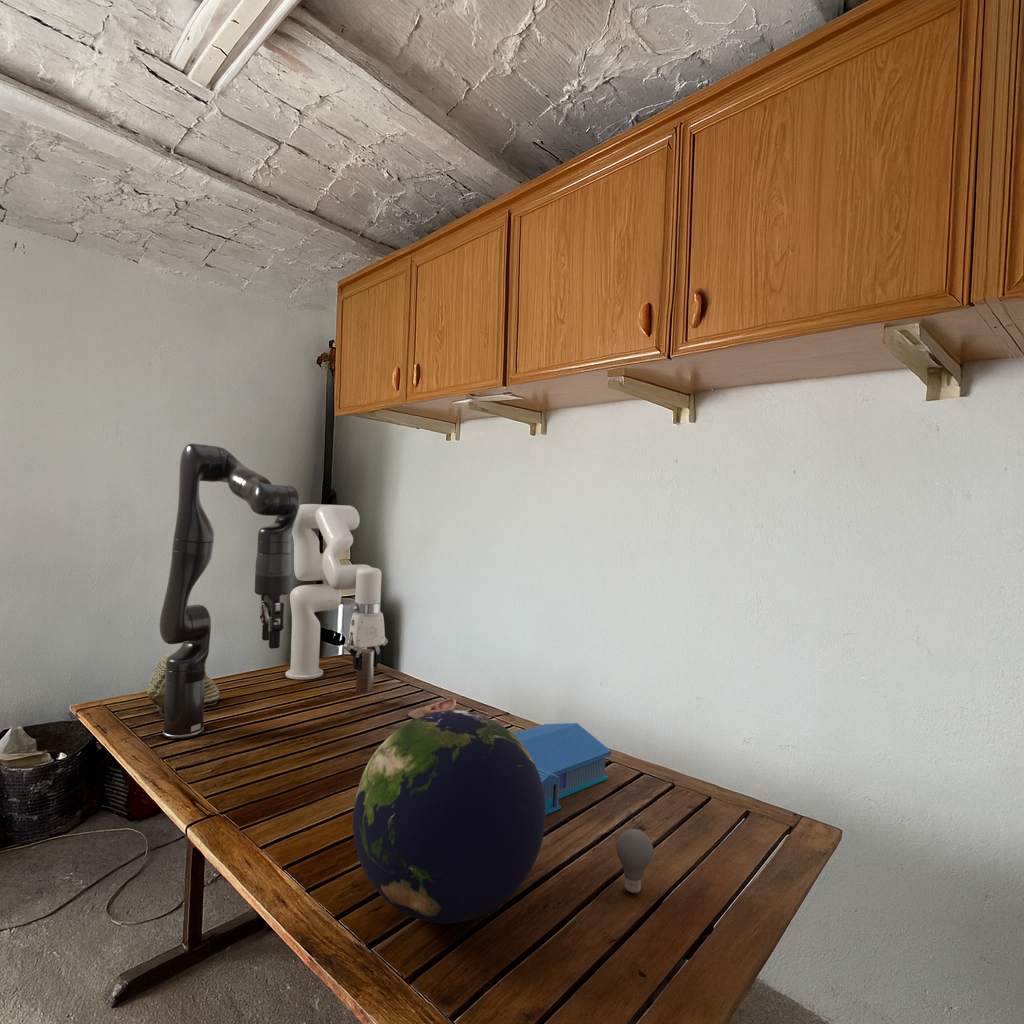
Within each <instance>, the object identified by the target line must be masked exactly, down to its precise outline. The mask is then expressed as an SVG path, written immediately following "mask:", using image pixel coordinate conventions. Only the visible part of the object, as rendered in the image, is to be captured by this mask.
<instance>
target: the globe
mask: <svg viewBox="0 0 1024 1024" xmlns="http://www.w3.org/2000/svg"><path fill="white" fill-rule="evenodd" d="M546 816H547V815H546V806H545V796H544V791H543V786H542V782H541V779H540V775H539V773H538V770H537V768H536V765H535V763H534V761H533V759H532V757H531V756H530V754H529V752H528V751H527V749H526V748H525V747H524V746H523V744H522V743H521V742H520V741H519V740H518V739H517V738H516V737H515V736H514V735H513V732H511V730H509V729H507V728H506V727H505V726H503V725H502V724H500V723H498V722H497V721H495V720H493V719H492V718H489V717H487V716H485V715H481V714H479V713H476V712H471V711H467V710H458V709H457V710H454V711H441V712H435V713H431V714H428V715H424V716H421V717H419V718H417V719H415V718H413V720H410V721H409V722H407V723H405V724H404V725H402V726H400V727H399V728H398V729H397V730H395V731H394V732H392V734H390V735H389V736H388V737H386V739H385V740H384V741H383V742H382V743H381V744H380V745H379V746H378V747H377V749H376V750H375V752H374V753H373V755H372V756H371V757H370V759H369V761H368V762H367V764H366V766H365V768H364V771H363V772H362V775H361V777H360V780H359V783H358V786H357V789H356V793H355V797H354V803H353V808H352V831H353V841H354V845H355V846H354V847H355V851H356V855H357V856H358V860H359V863H360V866H361V868H362V870H363V872H364V874H365V876H366V877H367V878H368V881H369V882H370V884H371V885H372V887H373V888H374V889H375V890H376V891H377V893H378V895H380V896H381V897H382V898H383V899H384V900H385V901H386V902H387V903H388V904H389V905H391V906H392V907H394V908H395V909H396V910H398V911H399V912H401V913H403V914H404V915H407V916H409V917H411V918H414V919H416V920H419V921H423V922H427V923H432V924H441V925H443V924H447V925H448V924H458V923H463V922H468V921H471V920H474V919H478V918H480V917H482V916H484V915H487V914H489V913H490V912H492V911H494V910H495V909H497V908H498V907H500V906H501V905H503V904H504V903H505V902H506V901H507V900H508V899H509V898H511V897H512V896H513V895H514V894H515V892H516V891H517V890H519V888H520V887H521V886H522V884H523V883H524V882H525V880H526V879H527V877H528V876H529V874H530V872H531V870H532V869H533V867H534V865H535V863H536V860H537V858H538V856H539V853H540V850H541V847H542V844H543V839H544V834H545V830H546V829H545V828H546V818H547V817H546Z"/></svg>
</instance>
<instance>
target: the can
mask: <svg viewBox="0 0 1024 1024" xmlns="http://www.w3.org/2000/svg"><path fill="white" fill-rule="evenodd" d="M359 657H361V670H360V671H357V670H356V679H355V685H356V686H355V691H356V692H357V693H362V694H366V693H371V692H373V691H374V669H375V668H374V650H373V649H371V648H362V649H361V652H360V656H359Z"/></svg>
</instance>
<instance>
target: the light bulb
mask: <svg viewBox="0 0 1024 1024" xmlns="http://www.w3.org/2000/svg"><path fill="white" fill-rule="evenodd" d="M615 849H616V854H617V857H618V859H619V861H620V863H621V865H622V867H623V873H624V874H623V875H624V876H625V878H624V888H625V890H627V891H628V892H630V893H634V894H635V893H639V892H640V891H641V889H642V887H641V886H642V879H643V877H644V875H645V871H646V868H647V867H648V866H649V864H650V863H651V861H652V859H653V855H654V847H653V843H652V841H651V838H649V836H648V835H647V834H646V833H645V832H643V831H642V830H641V829H636V828H629V829H627V830H625V831H623V832H622V833H621V834H620V835H619V837H618V839H617V841H616V847H615Z"/></svg>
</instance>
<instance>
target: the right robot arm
mask: <svg viewBox="0 0 1024 1024" xmlns="http://www.w3.org/2000/svg"><path fill="white" fill-rule="evenodd" d="M360 521H361V519H360V514H359V512H358V510H357V508H356V507H354V506H353V505H348V504H347V505H344V504H343V505H342V504H320V503H303V504H300V508H299V511H298V514H297V517H296V520H295V524H294V527H293V530H292V534H291V537H292V539H293V571H294V576H295V578H296V579H297V580H298V581H301V582H312V581H323V583H318V584H317V583H315V584H302V585H299V586H296V587H294V588H293V589H291V591H290V593H289V602H290V611H291V639H290V641H291V642H290V667H289V668H290V669H287V670H286V671H285V674H284V675H285V677H286V678H288V679H291V680H296V681H303V680H304V681H306V680H313V679H318V678H320V677H322V676H323V675H324V670H323V669H322V668H320V650H321V649H320V647H321V622H320V620H319V619H318V617H317V616H316V615H315V613H318V612H326V611H334V610H337V609H338V608H339V607H340V605H341V602H342V590H343V591H344V590H355V591H354V593H355V595H354V605H352V606H351V608H350V609H351V611H354V612H353V613H352V616H351V619H350V625H349V633H348V639H347V640H346V641H345V643H344V644H343V645H342V646H343V649H345V650H346V651H347V652H348V653H349V654H350V655H351V656H352V669H353V670H355V671H356V672H357V671H360V670H361V657H359V656H360V652H361V649H368V648H370V649H373V650H374V669H377V668H378V663H379V655H380V654H381V651H382V650H383V649H384V647H385V646H386V645H387V644H388V642H389V639H387V637H386V636H385V634H386V632H385V619H384V614H383V612H382V611H381V596H382V575H383V573H382V570H381V569H380V568H377V567H373V566H371V565H368V564H363V563H361V564H341V562H340V559H339V558H338V555H340V554H342V553H344V552H346V551H348V550H349V549H350V548H351V547H352V545H353V543H354V536H353V534H352V532H351V531H354V530H356V529H357V528H358V527H359V525H360ZM313 529H318V530H319V531H320V533H321V536H322V538H323V541H324V542H325V544H326V547H325V549H324V552H323V553H322V552H320V539H319V537H318V535H317V533H315V531H314V530H313Z"/></svg>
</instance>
